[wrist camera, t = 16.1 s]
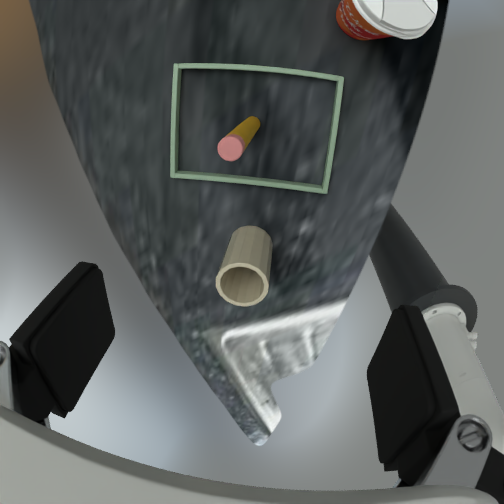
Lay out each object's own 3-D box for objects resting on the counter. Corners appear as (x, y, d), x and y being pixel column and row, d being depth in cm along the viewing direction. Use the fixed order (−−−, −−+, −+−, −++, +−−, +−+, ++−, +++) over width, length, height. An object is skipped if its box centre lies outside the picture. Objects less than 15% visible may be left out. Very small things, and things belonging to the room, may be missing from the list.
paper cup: (317, -3, 27) (337, -43, 15) (376, -12, 25) (422, -47, 13) (339, 55, 30) (373, 43, 19) (397, 44, 29) (454, 34, 17)
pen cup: (274, 226, 42) (271, 266, 34) (270, 263, 45) (265, 309, 36) (231, 221, 42) (216, 259, 34) (229, 258, 45) (215, 302, 37)
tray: (341, 77, 32) (344, 77, 30) (325, 189, 39) (327, 194, 37) (179, 64, 33) (173, 63, 31) (175, 173, 40) (170, 177, 38)
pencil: (261, 117, 35) (243, 137, 21) (259, 131, 36) (242, 162, 22) (245, 115, 35) (218, 135, 21) (244, 130, 36) (216, 160, 22)
